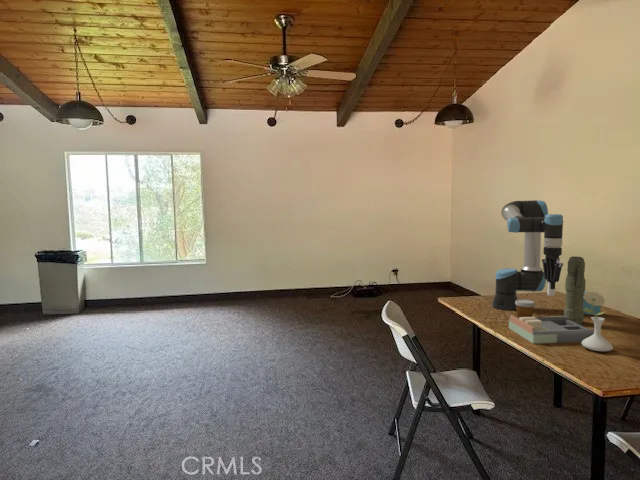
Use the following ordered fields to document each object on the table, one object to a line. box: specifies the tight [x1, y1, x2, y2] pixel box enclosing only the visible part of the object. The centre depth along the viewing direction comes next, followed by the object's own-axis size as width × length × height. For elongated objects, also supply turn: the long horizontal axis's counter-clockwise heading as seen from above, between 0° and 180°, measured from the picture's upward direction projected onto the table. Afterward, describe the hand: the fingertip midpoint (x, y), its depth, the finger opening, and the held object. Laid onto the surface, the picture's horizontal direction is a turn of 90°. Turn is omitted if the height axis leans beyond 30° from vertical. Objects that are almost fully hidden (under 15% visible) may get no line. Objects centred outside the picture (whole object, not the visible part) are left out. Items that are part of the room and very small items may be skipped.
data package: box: [583, 291, 602, 316], centre depth 224 cm, size 12×4×12 cm, turn 69°
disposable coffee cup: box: [515, 298, 536, 317], centre depth 209 cm, size 10×10×12 cm
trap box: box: [508, 314, 595, 344], centre depth 192 cm, size 22×30×7 cm
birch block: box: [519, 316, 542, 330], centre depth 191 cm, size 7×7×4 cm
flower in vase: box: [580, 291, 614, 352], centre depth 172 cm, size 13×11×25 cm
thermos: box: [563, 256, 587, 326], centre depth 208 cm, size 9×12×35 cm
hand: (550, 295), depth 190 cm, fingers closed
